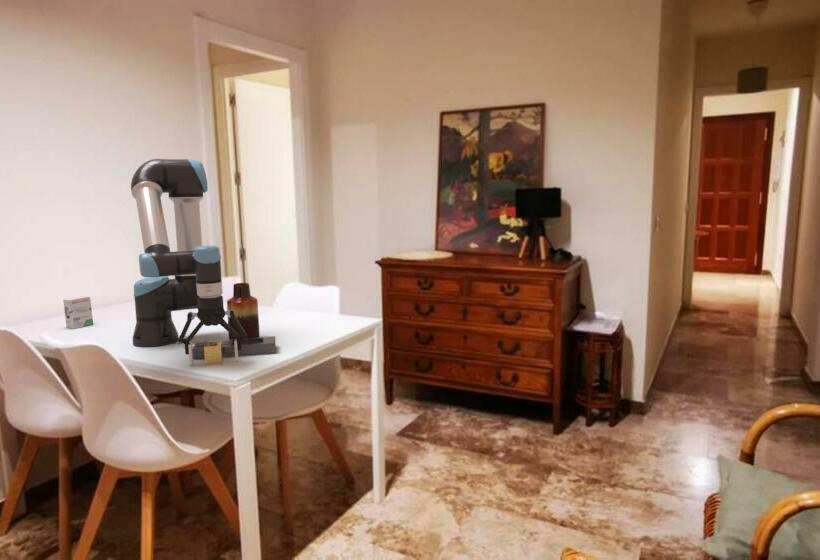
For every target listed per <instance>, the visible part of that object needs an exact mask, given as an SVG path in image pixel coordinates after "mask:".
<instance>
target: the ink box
mask: <svg viewBox="0 0 820 560" xmlns="http://www.w3.org/2000/svg"><path fill="white" fill-rule="evenodd" d="M63 310H64V317H65V324H66V325H65V326H66V328H67V329H71V330H74V329H79V328H83V327H88V326H92V325H94V320H93V319H94V318H93V310H92V300H91V297H90V296H77V297H71V298H65V299H63Z"/></svg>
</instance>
